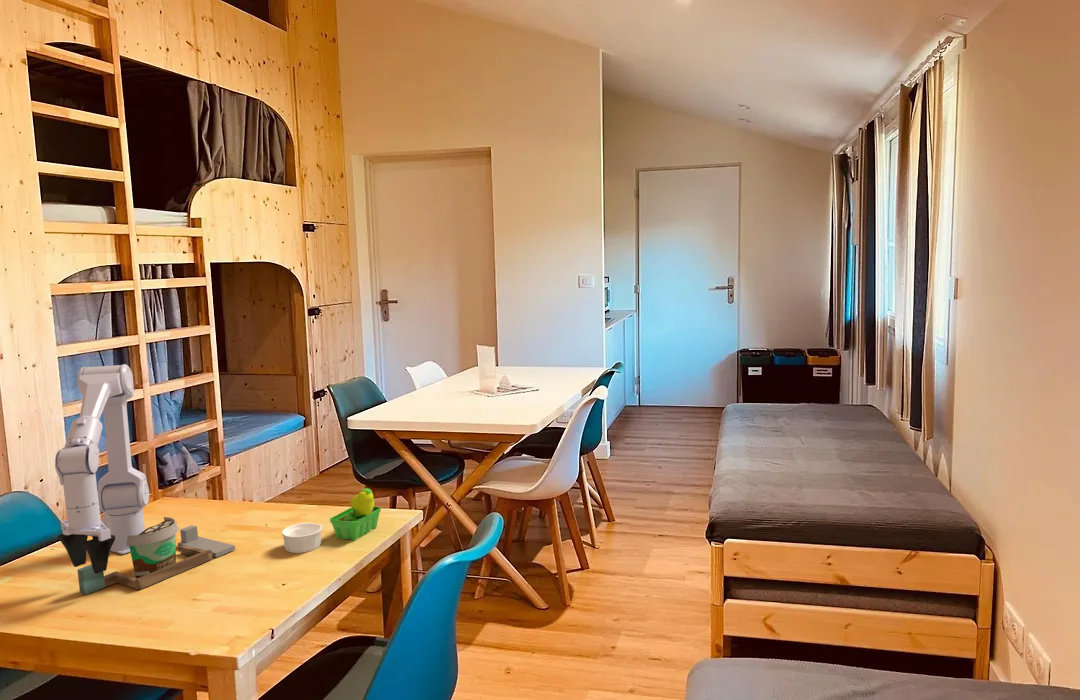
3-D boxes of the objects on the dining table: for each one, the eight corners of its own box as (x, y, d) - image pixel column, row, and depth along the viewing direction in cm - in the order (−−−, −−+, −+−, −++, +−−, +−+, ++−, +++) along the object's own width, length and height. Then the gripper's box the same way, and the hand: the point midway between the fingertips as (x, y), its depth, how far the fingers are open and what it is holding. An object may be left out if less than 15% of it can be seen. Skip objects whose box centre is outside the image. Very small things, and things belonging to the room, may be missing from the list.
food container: (156, 583, 157) (151, 537, 156) (130, 582, 158) (125, 536, 157) (194, 559, 169) (190, 516, 168) (170, 558, 170) (165, 516, 169)
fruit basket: (358, 523, 188) (355, 479, 187) (388, 527, 185) (385, 482, 184) (329, 540, 178) (325, 493, 177) (360, 544, 175) (356, 497, 173)
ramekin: (329, 540, 178) (327, 522, 178) (314, 554, 170) (312, 536, 169) (293, 540, 179) (291, 522, 179) (276, 554, 170) (275, 536, 170)
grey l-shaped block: (177, 547, 176) (176, 530, 176) (197, 539, 181) (195, 523, 180) (216, 557, 169) (214, 540, 169) (235, 549, 174) (233, 532, 173)
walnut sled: (80, 592, 154) (77, 569, 153) (184, 551, 174) (182, 530, 173) (108, 602, 148) (105, 578, 148) (212, 559, 168) (210, 537, 168)
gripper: (42, 505, 153) (50, 569, 154) (81, 515, 145) (89, 582, 147) (78, 495, 159) (85, 557, 160) (117, 504, 151) (125, 568, 153)
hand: (90, 568), depth 154 cm, fingers open, 7 cm apart
